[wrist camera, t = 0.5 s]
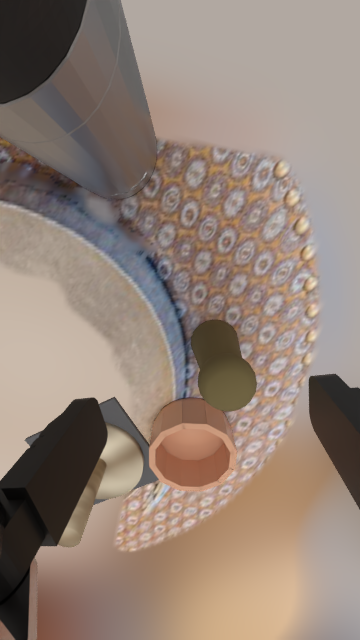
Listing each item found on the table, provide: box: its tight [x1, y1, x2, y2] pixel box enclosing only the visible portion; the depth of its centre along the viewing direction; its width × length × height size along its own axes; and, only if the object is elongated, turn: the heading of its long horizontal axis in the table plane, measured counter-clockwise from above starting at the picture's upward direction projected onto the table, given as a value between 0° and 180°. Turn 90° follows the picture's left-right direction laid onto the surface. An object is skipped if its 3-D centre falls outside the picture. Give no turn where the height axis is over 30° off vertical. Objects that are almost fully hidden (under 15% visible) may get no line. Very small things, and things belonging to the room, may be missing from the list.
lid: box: [58, 422, 144, 547], centre depth 31 cm, size 14×14×10 cm
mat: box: [25, 397, 159, 505], centre depth 36 cm, size 16×16×1 cm
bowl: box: [149, 398, 237, 491], centre depth 32 cm, size 11×11×5 cm
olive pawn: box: [191, 320, 257, 411], centre depth 25 cm, size 6×6×11 cm
